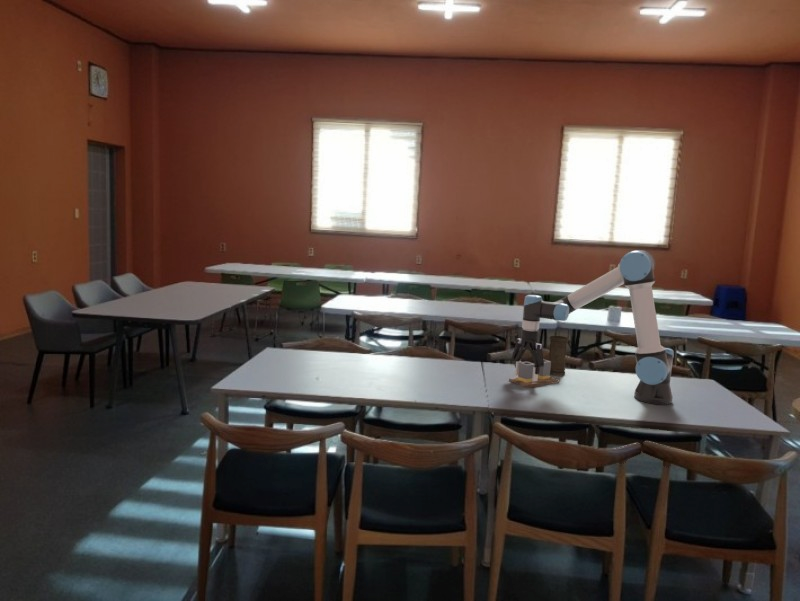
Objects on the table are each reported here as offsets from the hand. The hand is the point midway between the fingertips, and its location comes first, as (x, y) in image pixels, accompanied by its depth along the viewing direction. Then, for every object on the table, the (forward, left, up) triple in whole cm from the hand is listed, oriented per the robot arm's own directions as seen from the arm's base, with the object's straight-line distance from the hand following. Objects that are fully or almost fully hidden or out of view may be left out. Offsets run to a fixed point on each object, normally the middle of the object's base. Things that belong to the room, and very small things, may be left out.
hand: (526, 377), depth 270 cm
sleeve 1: (0, 0, -1) cm, 1 cm away
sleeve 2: (0, -11, -1) cm, 11 cm away
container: (+5, -27, -3) cm, 28 cm away
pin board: (0, -5, -2) cm, 6 cm away
